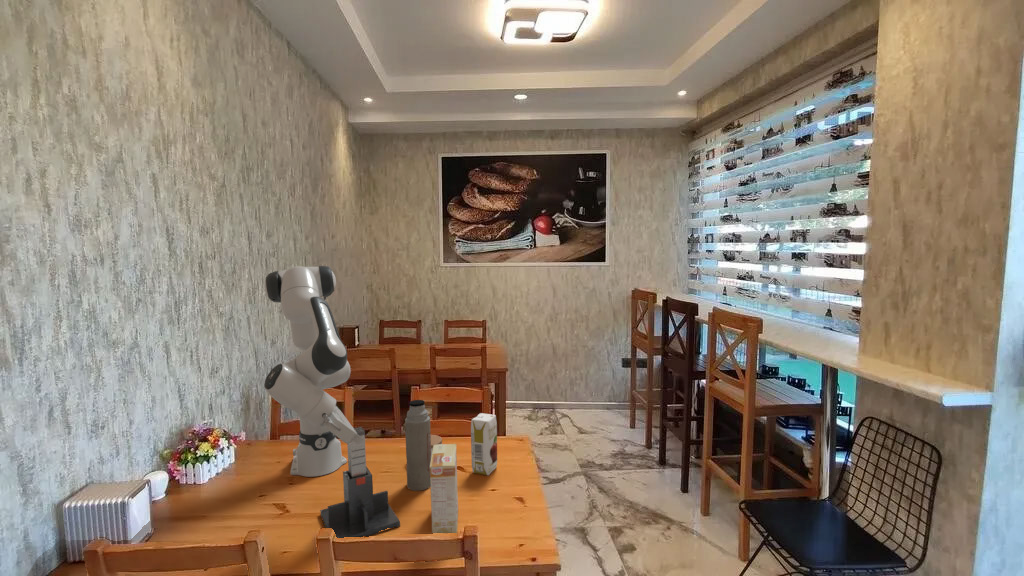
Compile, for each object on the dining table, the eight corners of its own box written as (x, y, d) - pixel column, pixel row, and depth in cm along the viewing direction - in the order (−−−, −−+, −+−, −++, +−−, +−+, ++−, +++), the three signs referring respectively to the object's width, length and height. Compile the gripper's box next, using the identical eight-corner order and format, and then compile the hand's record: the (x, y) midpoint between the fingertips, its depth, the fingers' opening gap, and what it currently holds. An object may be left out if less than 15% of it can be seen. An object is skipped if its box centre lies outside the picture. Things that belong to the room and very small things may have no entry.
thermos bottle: (435, 480, 163) (433, 398, 161) (426, 491, 156) (424, 406, 153) (413, 478, 165) (410, 397, 163) (403, 489, 157) (400, 404, 155)
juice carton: (469, 473, 168) (468, 419, 166) (480, 463, 176) (479, 411, 174) (489, 477, 165) (488, 422, 163) (499, 466, 173) (498, 414, 171)
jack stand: (320, 515, 143) (318, 468, 142) (381, 498, 152) (380, 454, 151) (332, 547, 127) (330, 495, 126) (400, 526, 136) (398, 477, 135)
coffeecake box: (434, 507, 146) (433, 444, 145) (458, 506, 147) (457, 443, 145) (430, 536, 131) (428, 466, 130) (457, 535, 132) (455, 465, 130)
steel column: (349, 509, 140) (346, 429, 138) (364, 505, 142) (361, 426, 140) (353, 516, 136) (349, 434, 134) (368, 511, 139) (365, 431, 137)
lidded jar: (444, 464, 175) (444, 439, 174) (414, 469, 172) (413, 443, 171) (440, 452, 185) (439, 428, 184) (411, 456, 182) (410, 432, 181)
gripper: (335, 411, 124) (375, 440, 130) (321, 391, 142) (357, 417, 147) (318, 431, 122) (359, 460, 128) (306, 408, 140) (342, 434, 146)
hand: (358, 437), depth 138 cm, fingers closed on steel column, 4 cm apart
